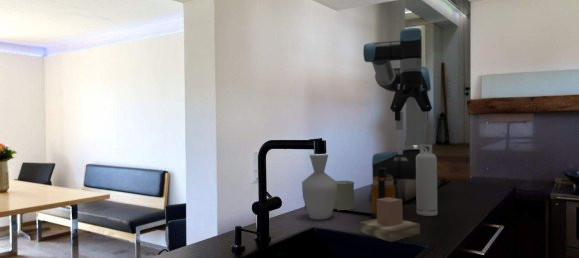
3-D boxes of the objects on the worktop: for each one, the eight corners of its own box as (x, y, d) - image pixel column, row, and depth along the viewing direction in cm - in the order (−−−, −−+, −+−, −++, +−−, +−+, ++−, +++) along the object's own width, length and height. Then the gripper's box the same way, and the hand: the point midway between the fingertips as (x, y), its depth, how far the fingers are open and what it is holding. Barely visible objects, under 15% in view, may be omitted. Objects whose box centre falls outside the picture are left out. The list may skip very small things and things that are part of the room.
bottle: (438, 211, 162) (437, 144, 162) (436, 216, 155) (435, 145, 155) (417, 210, 166) (416, 144, 165) (415, 214, 159) (414, 145, 158)
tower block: (377, 222, 135) (376, 199, 135) (388, 219, 138) (388, 197, 138) (390, 226, 130) (390, 202, 130) (402, 223, 133) (402, 199, 133)
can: (345, 211, 166) (344, 183, 166) (329, 208, 173) (328, 181, 173) (358, 208, 172) (358, 180, 172) (342, 205, 179) (342, 178, 179)
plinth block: (359, 233, 136) (359, 222, 136) (388, 226, 144) (388, 216, 144) (391, 243, 124) (390, 231, 124) (420, 235, 132) (420, 224, 132)
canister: (396, 215, 157) (395, 165, 157) (394, 222, 147) (393, 169, 147) (373, 214, 160) (372, 165, 160) (369, 221, 150) (368, 168, 149)
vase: (318, 211, 168) (317, 152, 167) (345, 216, 158) (343, 154, 157) (294, 217, 158) (293, 155, 157) (321, 223, 148) (320, 157, 147)
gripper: (395, 68, 134) (396, 130, 135) (441, 72, 148) (442, 128, 148) (379, 70, 140) (380, 130, 141) (424, 74, 154) (425, 128, 155)
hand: (412, 129), depth 145 cm, fingers open, 13 cm apart
